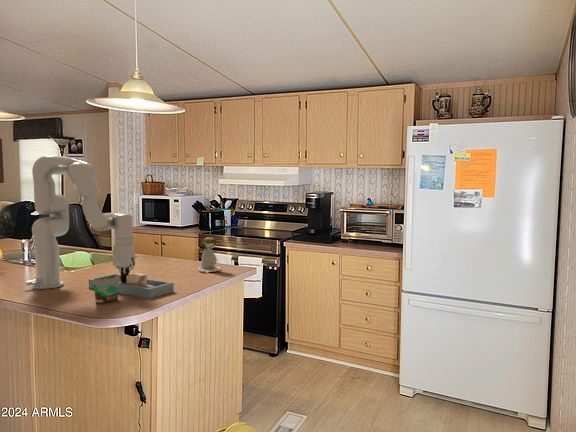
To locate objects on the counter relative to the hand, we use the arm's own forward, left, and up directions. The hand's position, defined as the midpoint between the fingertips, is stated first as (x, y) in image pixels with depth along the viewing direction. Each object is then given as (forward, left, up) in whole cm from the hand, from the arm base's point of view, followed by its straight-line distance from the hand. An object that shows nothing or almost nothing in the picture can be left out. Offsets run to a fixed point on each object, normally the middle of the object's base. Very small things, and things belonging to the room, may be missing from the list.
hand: (124, 281), depth 200 cm
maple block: (0, -8, -1) cm, 8 cm away
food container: (-18, -13, -3) cm, 22 cm away
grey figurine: (+52, -7, -3) cm, 53 cm away
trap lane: (0, -4, -3) cm, 5 cm away
